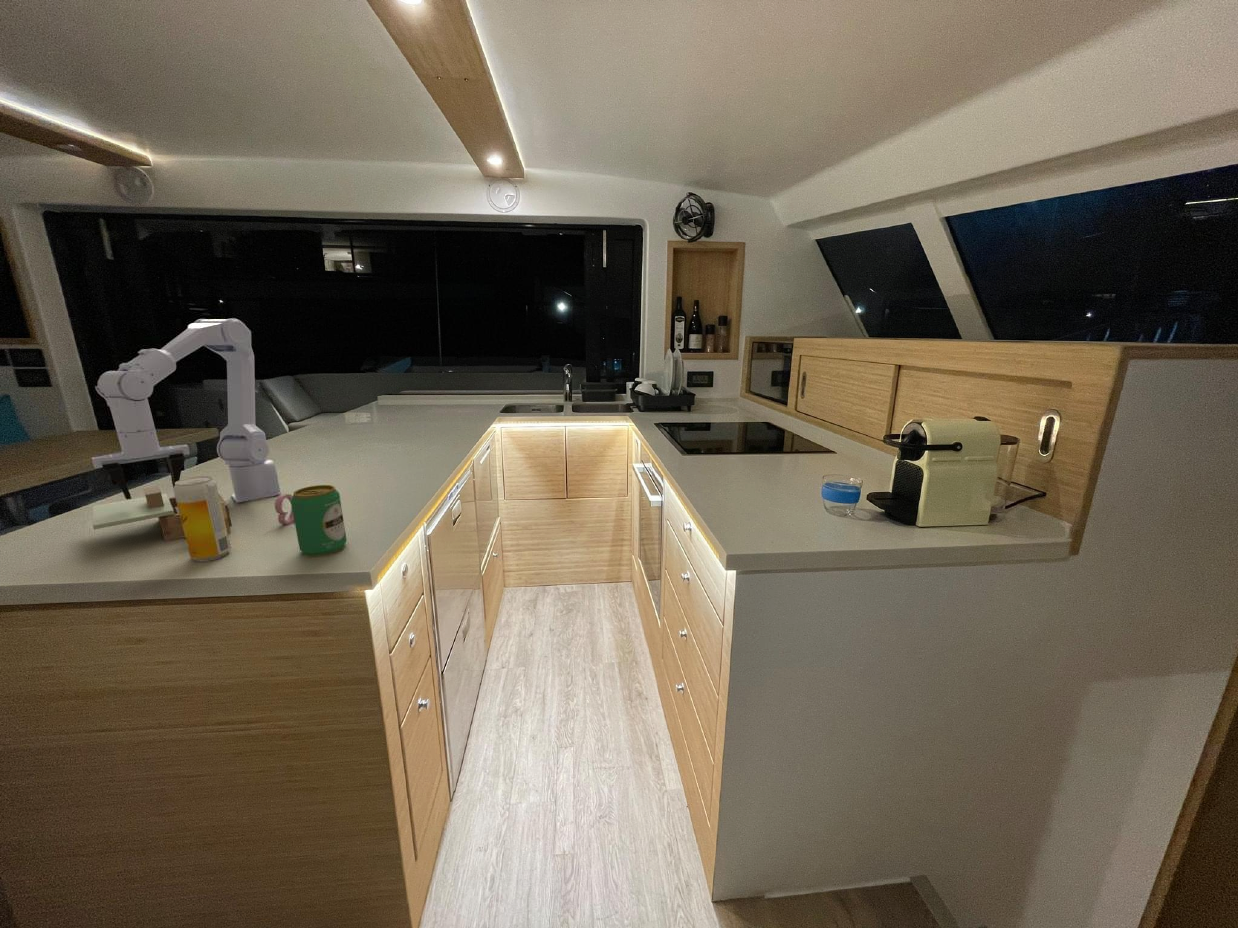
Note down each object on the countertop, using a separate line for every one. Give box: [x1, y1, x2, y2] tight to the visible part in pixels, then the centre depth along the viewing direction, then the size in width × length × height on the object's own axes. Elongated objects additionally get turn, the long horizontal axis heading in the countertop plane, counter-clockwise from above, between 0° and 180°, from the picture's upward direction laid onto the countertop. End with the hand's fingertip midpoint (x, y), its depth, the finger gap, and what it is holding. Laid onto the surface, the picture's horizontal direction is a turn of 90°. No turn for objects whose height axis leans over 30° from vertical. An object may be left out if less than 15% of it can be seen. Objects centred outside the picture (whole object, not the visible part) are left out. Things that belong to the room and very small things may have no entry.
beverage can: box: [290, 484, 348, 558], centre depth 96 cm, size 8×8×12 cm
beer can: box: [173, 475, 232, 562], centre depth 93 cm, size 6×6×15 cm
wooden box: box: [157, 493, 233, 541], centre depth 111 cm, size 11×16×5 cm
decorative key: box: [274, 493, 295, 525], centre depth 118 cm, size 7×1×20 cm
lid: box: [92, 486, 174, 530], centre depth 103 cm, size 12×16×4 cm
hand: (153, 493), depth 105 cm, fingers open, 7 cm apart
